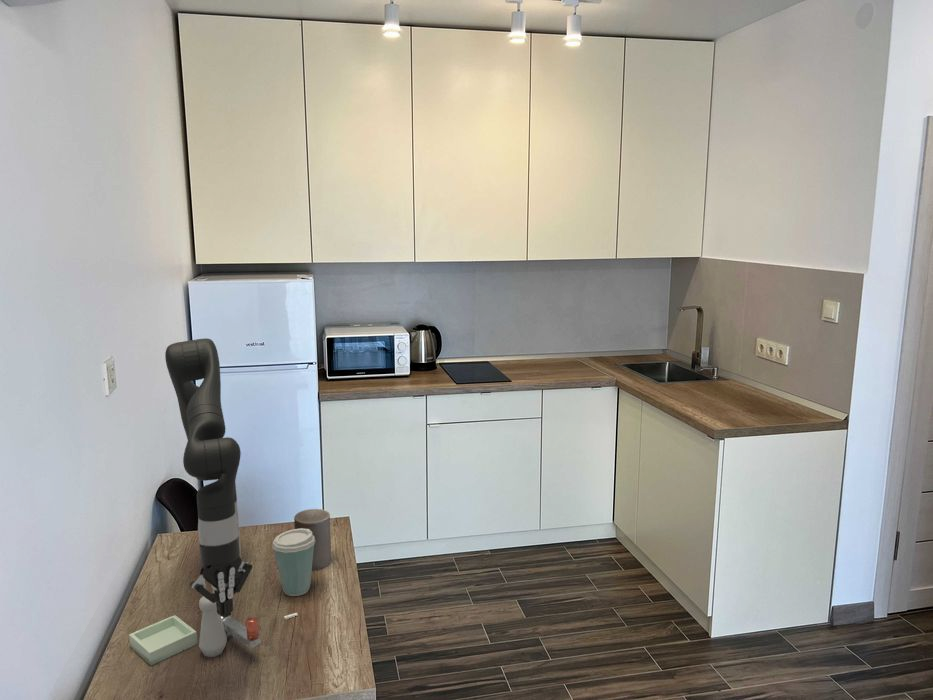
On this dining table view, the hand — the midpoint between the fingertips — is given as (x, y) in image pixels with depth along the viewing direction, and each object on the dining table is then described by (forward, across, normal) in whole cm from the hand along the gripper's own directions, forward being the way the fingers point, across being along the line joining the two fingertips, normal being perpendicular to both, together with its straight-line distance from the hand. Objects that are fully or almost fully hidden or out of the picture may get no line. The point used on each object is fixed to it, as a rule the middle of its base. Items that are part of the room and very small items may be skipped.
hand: (225, 615), depth 144 cm
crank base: (+13, -6, -14) cm, 20 cm away
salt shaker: (+13, -2, -10) cm, 17 cm away
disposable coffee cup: (+13, -29, -19) cm, 37 cm away
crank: (+11, -6, -9) cm, 16 cm away
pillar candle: (+13, -41, -28) cm, 51 cm away
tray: (+13, +4, -21) cm, 25 cm away
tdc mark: (+13, -21, -9) cm, 26 cm away
